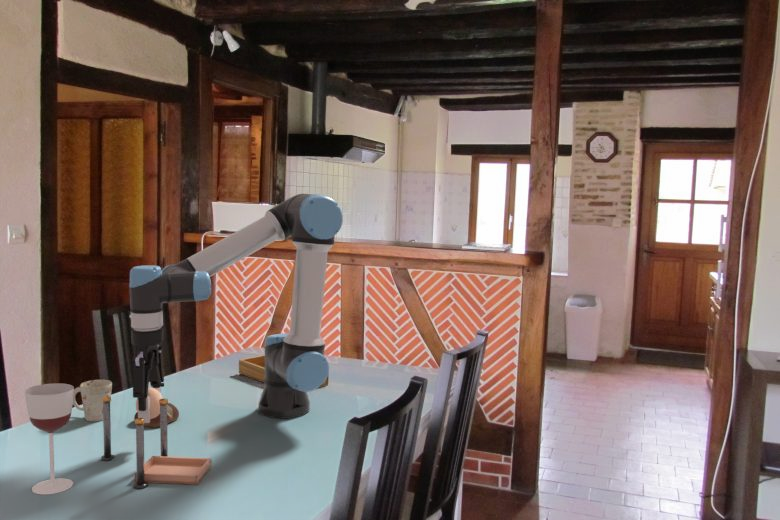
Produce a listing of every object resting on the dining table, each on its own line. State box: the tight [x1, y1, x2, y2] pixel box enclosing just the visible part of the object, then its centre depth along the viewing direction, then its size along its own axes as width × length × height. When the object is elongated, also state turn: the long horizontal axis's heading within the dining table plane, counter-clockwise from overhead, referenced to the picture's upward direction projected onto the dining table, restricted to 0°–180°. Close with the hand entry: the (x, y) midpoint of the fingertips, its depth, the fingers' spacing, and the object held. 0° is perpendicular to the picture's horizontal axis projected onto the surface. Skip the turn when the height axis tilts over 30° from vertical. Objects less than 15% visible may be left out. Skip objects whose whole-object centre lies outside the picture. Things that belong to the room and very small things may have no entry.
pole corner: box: [159, 398, 169, 457], centre depth 168 cm, size 3×3×15 cm
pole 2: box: [133, 418, 149, 490], centre depth 154 cm, size 3×3×15 cm
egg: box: [135, 387, 164, 419], centre depth 176 cm, size 7×7×8 cm
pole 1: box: [100, 396, 115, 462], centre depth 169 cm, size 3×3×15 cm
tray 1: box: [134, 455, 212, 486], centre depth 161 cm, size 14×10×2 cm
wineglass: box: [24, 382, 75, 496], centre depth 153 cm, size 9×10×22 cm
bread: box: [133, 402, 180, 428], centre depth 197 cm, size 11×11×5 cm
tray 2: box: [238, 354, 330, 388], centre depth 240 cm, size 31×15×6 cm, turn 46°
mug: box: [73, 379, 113, 422], centre depth 198 cm, size 8×13×10 cm, turn 78°
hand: (150, 417), depth 176 cm, fingers closed on egg, 7 cm apart
